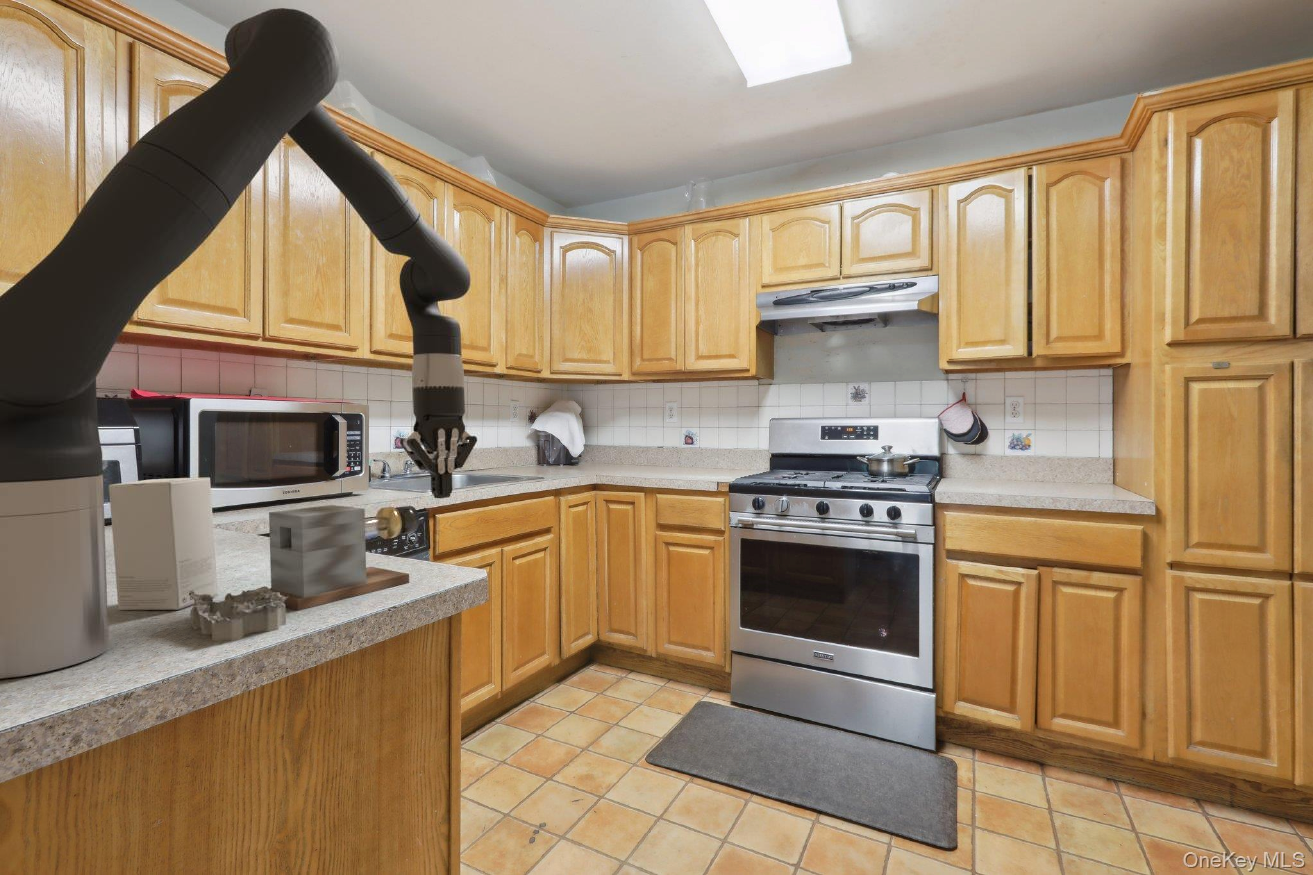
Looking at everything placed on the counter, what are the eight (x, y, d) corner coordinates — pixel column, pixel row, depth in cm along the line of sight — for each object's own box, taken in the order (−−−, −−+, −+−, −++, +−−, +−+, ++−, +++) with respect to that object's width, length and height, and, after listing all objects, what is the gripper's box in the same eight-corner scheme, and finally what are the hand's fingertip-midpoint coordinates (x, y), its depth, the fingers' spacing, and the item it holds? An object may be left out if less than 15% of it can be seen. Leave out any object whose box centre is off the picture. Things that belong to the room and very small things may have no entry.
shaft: (327, 552, 79) (326, 517, 79) (309, 548, 81) (308, 515, 81) (420, 535, 90) (419, 505, 90) (401, 532, 93) (401, 503, 93)
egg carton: (185, 626, 69) (184, 590, 69) (262, 611, 75) (261, 577, 75) (211, 647, 62) (210, 607, 62) (294, 628, 68) (292, 591, 68)
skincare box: (219, 597, 80) (215, 476, 80) (175, 612, 74) (170, 481, 73) (160, 596, 81) (156, 477, 81) (111, 611, 75) (106, 482, 74)
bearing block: (297, 610, 74) (295, 518, 73) (261, 599, 79) (258, 513, 78) (409, 582, 86) (407, 503, 86) (371, 574, 91) (369, 499, 91)
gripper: (416, 382, 88) (420, 504, 88) (488, 385, 99) (491, 494, 99) (384, 385, 92) (388, 501, 93) (457, 388, 103) (461, 492, 104)
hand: (442, 497), depth 96 cm, fingers closed
